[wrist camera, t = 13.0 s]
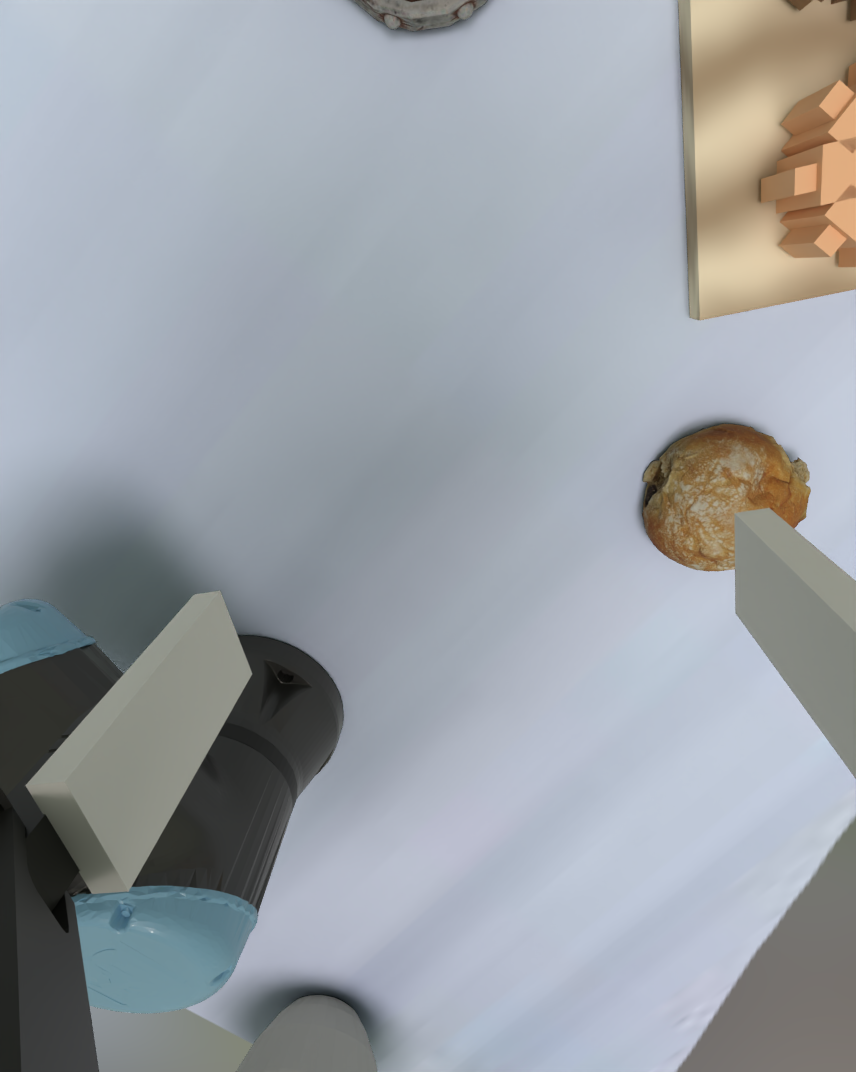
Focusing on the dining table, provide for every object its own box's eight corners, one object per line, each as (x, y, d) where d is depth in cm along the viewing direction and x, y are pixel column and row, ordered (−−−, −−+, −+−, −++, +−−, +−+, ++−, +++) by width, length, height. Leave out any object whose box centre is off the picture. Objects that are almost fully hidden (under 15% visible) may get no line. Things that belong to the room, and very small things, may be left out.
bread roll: (665, 407, 45) (640, 430, 38) (829, 425, 40) (832, 455, 34) (644, 531, 49) (618, 571, 42) (790, 561, 44) (786, 611, 38)
